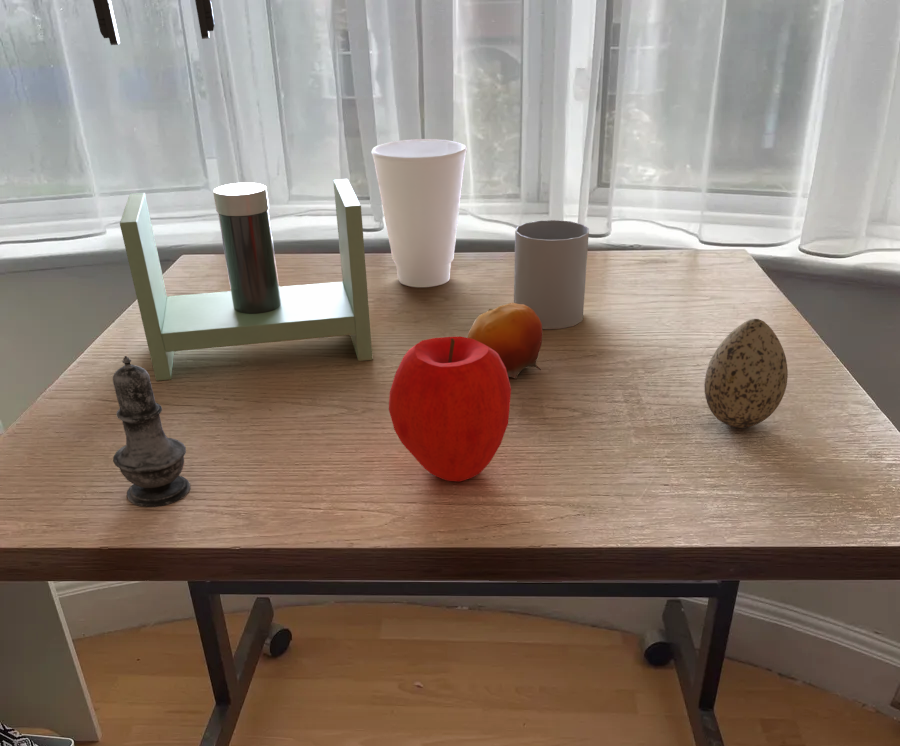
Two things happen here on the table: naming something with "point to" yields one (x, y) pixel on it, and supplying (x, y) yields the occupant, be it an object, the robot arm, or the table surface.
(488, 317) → the fruit
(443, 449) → the apple
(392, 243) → the cup
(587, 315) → the table surface
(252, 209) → the tumbler
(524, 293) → the cup
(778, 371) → the decorative egg
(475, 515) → the table surface
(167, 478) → the salt shaker
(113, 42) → the robot arm
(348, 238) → the shelf
